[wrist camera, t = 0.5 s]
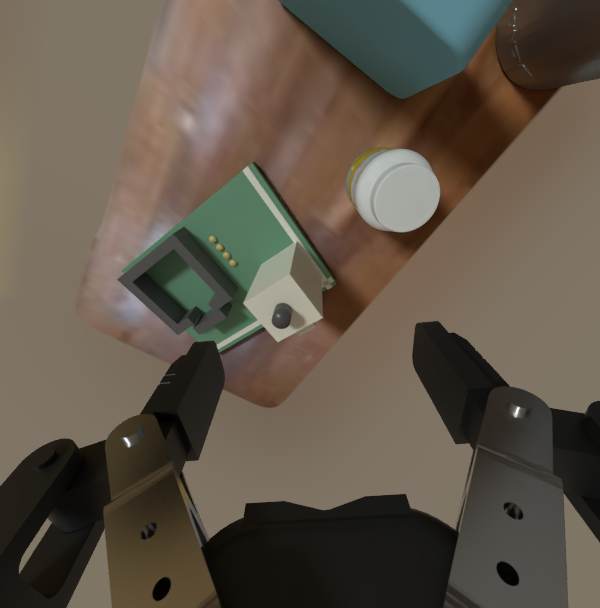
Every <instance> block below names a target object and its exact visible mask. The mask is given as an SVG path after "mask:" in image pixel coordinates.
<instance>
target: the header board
mask: <svg viewBox="0 0 600 608" xmlns="http://www.w3.org/2000/svg"><path fill="white" fill-rule="evenodd" d="M183 227H185V228H186V229H187V231H188V232H189V233H190V234H191V235H192V236H193V237H194V238H195V240H196V241H197V242H198V243H199V244H200V245H201V246H202V248H203V249H204V250H205V251H206V252H207V253H208V254H209V255H210V257H211V258H212V259H213V260H214V261H215V262H216V263H217V265H218V266H219V267H220V268H221V269H222V270H223V271H224V272H225V274H226V275H227V276H228V277H229V278H230V279H231V280H232V281H233V283H234V284H235V285H236V286H237V287H238V290H237V292H236V294H235V296H234V298H233V299H232V300H231V301H229V302H230V303H231V305H232V308H231V310H230V312H229V314H228V316H227V318H225V319H224V320H222V321H221V322H219V323H218V324H216V325H214V326H213V327H211V328H210V329H208V330H206V331H205V332H203V333H202V334H200V335H199V334H198V333H197V332H196V331H195V330H194V329H193V328H194V326H195V324H196V323H197V321H198V320H199V318H200V317H201V316H202V315H203V314H205V313H206V312H208V311H209V310H211V309H212V308H211V307H210V306H209V305H208V303H209V302H210V300H211V298H212V297H213V295H214V294H215V292H214V291H213V290H212V289H211V288H210V287H209V286H208V285H207V284H206V283H205V282H204V281H203V280H202V279H201V278H200V276H199V275H198V274H197V273H196V272H195V271H194V270H193V269H192V268H191V267H190V266H189V265H188V264H187V263H186V262H185V260H184V259H183V258H182V257H181V256H180V255H179V254H178V253H177V252H176V251H175V250H174V249H173V250H172V251H171V252H170V253H168V254H167V255H166V256H165V257H163V258H162V259H161V260H159V261H158V262H157V263H156V264H154V265H153V266H152V267H151V268H149V269H148V270H147V271H146V273H147V274H148V275H149V276H150V277H151V278H152V279H153V280H154V281H155V282H156V283H157V284H158V285H159V286H160V287H161V288H162V289H163V290H164V291H165V292H166V293H167V294H168V295H169V296H170V297H172V298H173V299H174V300H175V301H176V302H177V303H178V304H179V305H180V306H181V307H182V308H183V309H184V310H185V311H186V312H187V311H189V310H190V309H192V308H193V307H195V306H196V307H197V308H198V309H199V310H200V311H201V312H202V313H201V315H200V316H199V318H198V319H197V321H196V322H195V324H194V325H193V326H191V327H189V328H188V329H186V331H187V332H188V333H189V334H190V335H191V336H192V337H193V338H194V339H195V340H196V341H197V342H201V341H215V343H216V345H217V348H218V352H219V353H220V352H221V351H223V350H225V349H227V348H228V347H230V346H232V345H233V344H235V343H237V342H239V341H240V340H242V339H244V338H245V337H247V336H249V335H251V334H252V333H254V332H256V331H257V330H259V329H261V328H263V327H264V326H263V325H262V324H261V323H260V322H259V321H258V320H257V318H256V317H255V316H254V315H253V314H252V313H251V312H250V311H249V309H248V308H247V307H246V306H245V305H244V304H243V302H244V300H245V298H246V296H247V294H248V292H249V289H250V287H251V285H252V283H253V281H254V279H255V276H256V274H257V272H258V270H259V268H260V266H261V264H263V263H264V262H266V261H267V260H269V259H270V258H272V257H273V256H275V255H276V254H278V253H279V252H281V251H282V250H284V249H285V248H287V247H288V246H290V245H291V244H293V243H294V242H296V241H297V242H298V243H299V245H300V246H301V247H302V249H303V250H304V252H305V253H306V255H307V256H308V257H309V259H310V260H311V262H312V263H313V264H314V266H315V267H316V269H317V270H318V272H319V273H320V274H321V276H322V293H323V292H324V291H326V290H328V289H330V288H332V287H333V286H335V285H336V280H335V279H334V277H333V276H332V274H331V273H330V271H329V270H328V268H327V267H326V266H325V264H324V263H323V261H322V260H321V258H320V257H319V255H318V254H317V252H316V251H315V250H314V248H313V247H312V245H311V244H310V242H309V241H308V239H307V238H306V236H305V235H304V234H303V232H302V231H301V229H300V228H299V226H298V225H297V223H296V222H295V220H294V219H293V218H292V216H291V215H290V213H289V212H288V210H287V209H286V207H285V206H284V204H283V203H282V202H281V200H280V199H279V197H278V196H277V194H276V193H275V191H274V190H273V189H272V187H271V186H270V184H269V183H268V181H267V180H266V178H265V177H264V175H263V174H262V173H261V171H260V170H259V168H258V167H257V165H256V164H255V162H253V163H251V164H250V165H249V166H247V167H246V168H245V169H244V170H243V171H241V172H240V173H239V174H238V175H237V176H235V177H234V178H233V179H232V180H231V181H229V182H228V183H227V184H226V185H225V186H223V187H222V188H221V189H220V190H219V191H217V192H216V193H215V194H214V195H213V196H211V197H210V198H209V199H208V200H206V201H205V202H204V203H203V204H202V205H200V206H199V207H198V208H197V209H196V210H194V211H193V212H192V213H191V214H190V215H188V216H187V217H186V218H185V219H184V220H182V221H181V222H180V223H179V224H178V225H176V226H175V227H174V228H173V229H171V230H170V231H169V232H168V233H167V234H165V235H164V236H163V237H162V238H161V239H159V240H158V241H157V242H156V243H155V244H153V245H152V246H151V247H150V248H149V249H147V250H146V251H145V252H144V253H143V254H141V255H140V256H139V257H138V258H137V259H135V260H134V261H133V262H132V263H130V264H129V265H128V266H127V267H126V268H124V269H123V270H122V271H123V272H124V273H126V272H127V271H128V270H130V269H131V268H132V267H133V266H134V265H136V264H137V263H138V262H139V261H141V260H142V259H143V258H144V257H145V256H147V255H148V254H149V253H150V252H151V251H153V250H154V249H155V248H156V247H158V246H159V245H160V244H161V243H162V242H164V241H165V240H166V239H167V238H169V237H170V236H171V235H172V234H174V233H175V232H177V231H178V230H180V229H181V228H183ZM210 236H215V237H216V238H217V241H216V242H215V243H211V242H210V241H209V237H210ZM218 244H222V245H223V247H224V248H223V250H222V251H218V250H217V249H216V246H217V245H218ZM224 252H229V253H230V258H229V259H225V258H224V257H223V253H224ZM231 260H235V261H236V262H237V264H236V266H234V267H232V266H231V265H230V261H231Z"/></svg>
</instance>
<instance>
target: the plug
mask: <svg viewBox="0 0 600 608" xmlns="http://www.w3.org/2000/svg"><path fill="white" fill-rule="evenodd" d="M243 304H244V305H245V306H246V307H247V308H248V309H249V311H250V312H251V313H252V314H253V315H254V316H255V317H256V318H257V320H258V321H259V322H260V323H261V324H262V325H263V326H264V327H265V329H266V330H267V331H268V332H269V333H270V334H271V335H272V336H273V338H274V339H275V340H276V341H277V342H279V341H281V340H283V339H284V338H286V337H288V336H290V335H292V334H294V333H296V334H297V335H298V336H300V335H301V334H303V333H305V332H307V331H309V330H311V329H313V328H315V327H316V321H318V320H320V319H322V318H323V306H322V276H321V274H320V273H319V272H318V270H317V269H316V267H315V266H314V264H313V263H312V262H311V260H310V259H309V257H308V256H307V255H306V253H305V252H304V250H303V249H302V247H301V246H300V245H299V243H298V242H297V241H296V242H294V243H293V244H291V245H290V246H288V247H287V248H285V249H284V250H282V251H281V252H279V253H278V254H276V255H275V256H273V257H272V258H270V259H269V260H267V261H266V262H264V263H263V264H261V266H260V268H259V270H258V272H257V274H256V276H255V279H254V281H253V283H252V285H251V287H250V289H249V292H248V294H247V296H246V298H245V300H244V302H243Z"/></svg>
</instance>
